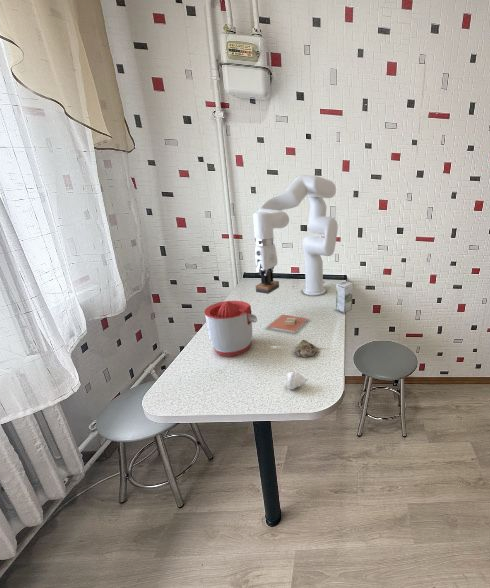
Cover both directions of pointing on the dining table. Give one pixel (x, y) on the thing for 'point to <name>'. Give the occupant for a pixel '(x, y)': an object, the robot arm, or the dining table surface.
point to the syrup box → (344, 296)
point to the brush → (267, 285)
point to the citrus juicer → (230, 327)
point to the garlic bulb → (295, 380)
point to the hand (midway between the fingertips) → (267, 282)
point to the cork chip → (290, 321)
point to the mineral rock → (306, 349)
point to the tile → (281, 325)
